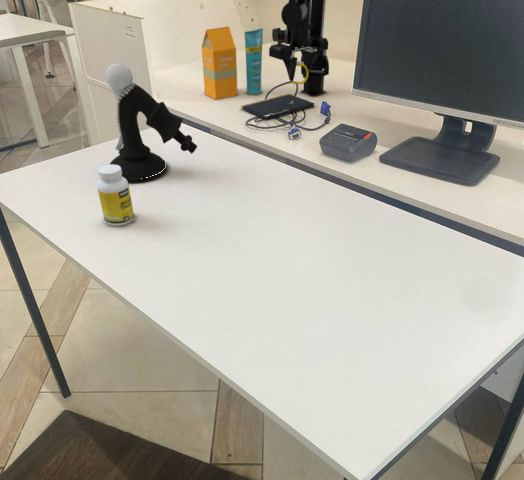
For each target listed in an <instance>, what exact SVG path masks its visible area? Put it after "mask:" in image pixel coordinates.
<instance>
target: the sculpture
mask: <svg viewBox="0 0 524 480" xmlns="http://www.w3.org/2000/svg"><path fill="white" fill-rule="evenodd" d="M105 80H106V83H107V85H108V86H109V87H110V89H109V90H110V91H111V92H112V93H113V96H114V100H115V102H116V110H115V111H116V123H117V128H118V131H119V133H118V134H119V139H118V141H117V144H116V147H115V150H116V151H118V154H119V155H117V156H116V157H115V158H113V159H112V160H111V161H110V162H109V164H108V165H110V164H114V165H118V166H120V167H121V170H122V177H124V178H125V179H126V180H127V181H128V184H137V183H138V184H141V183H145V182H151V181H155V180H156V179H158V178H160V177H162V176H164V175H165V174H166V172H167V171H168V165H167V166H166V168H165V161H166V160H165V159H164V158H162V157H161V156H160V155H158V154H156V153H154V152H151V150H152V149H151V147H149V146H147V145H146V144H145V143H144V142H143V139H142V135H141V131H140V127H139V122H138V121H139V120H138V116H139V113H142V114H143V115H144V117H145V118H146V121H145V125H146V126H148V127H150V128H152V129H153V130H155V131H156V132H157V133H158V135H159V136H160V138H161V140H162V143H163V144H166V143H168V142H169V141H171V140H172V139H173V140H174V141H176V142H177V143H178V144H179V145H180V147H179V148H180V150H181V151H183V152H189V153H190V155H192V154H193V153H194V152H195V151H196V150H197V148H198V145H197V144H196V143H195V142H194V141H193V137H192V135H190V134H187V135H185V134H184V133H183V132H182V131H181V130H180V128H181V127H182V123H183V120H184V118H183V117H179V116H176V115H175V114H173V113H172V112H171V111H170V110H169V109H168V107H167V106H166V104H165V102H164V101H160V102H158V101H157V100H156V99H155V98H153V96H152V95H151V94H150V93H149V92H147V91H146V90H145V89H144V88H143V87H141V86H140V85H138V84H136V83H135V82H134V81H133V80H134V75H133V72H132V70H131V69H130V68H129V67H128V66H127V65H126V64H124V63H120V62H115V63H112V64H111V65H109V66H107V69H106V70H105ZM163 159H164V160H165V161H164V160H163ZM164 168H165V169H164ZM163 169H164V170H163ZM162 170H163V171H162ZM161 171H162V172H161ZM159 172H161V173H159ZM158 173H159V174H158ZM155 174H157V175H155ZM152 175H154V176H152ZM150 176H151V177H150ZM146 177H148V178H146ZM141 178H142V179H141Z"/></svg>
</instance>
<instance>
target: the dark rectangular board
mask: <svg viewBox="0 0 524 480" xmlns="http://www.w3.org/2000/svg"><path fill="white" fill-rule="evenodd" d="M292 100H293V104H289V103H290V102H291V101H292ZM314 106H315V103H314V102H312V101H309V100H308V99H304V98H301V97H299V96H296V95H293V94H291V93H284V94H280V95H277V96H273V97H269V98H266V99H262V100H258V101H257V100H256V101H254V102H249V103H246V104H242V105H241V106H240V110H242V111H244V112H247V113H249V114H251V115H253V116H256V117H258V118H260V119H262V120H264V121H268V120H272V119H275V118H280V117H283V116H285V115H289V114H294V113H297V112H300V111H303V110H307V109H310V108H314ZM285 109H287V110H289V111H286V112H282V113H279V114H275V115H271V116H268V117H265V116H263V115H267V114H269V113H278V112H281V111H283V110H285Z"/></svg>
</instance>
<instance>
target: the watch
mask: <svg viewBox="0 0 524 480" xmlns="http://www.w3.org/2000/svg"><path fill="white" fill-rule="evenodd" d="M301 66H303V67H305V68H306V71H307V76H306V78H304V79H305V80H304V79H303V80H302V81H294V80H293V81H290V79H289V76H288V75H287V76H288V81H290V83H291V84H293V85H304V83H305V81H306V80H307V78H308V69H307V67H306V66H305V65H304V62H302V61H301V60H297V64H296V67H301Z"/></svg>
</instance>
